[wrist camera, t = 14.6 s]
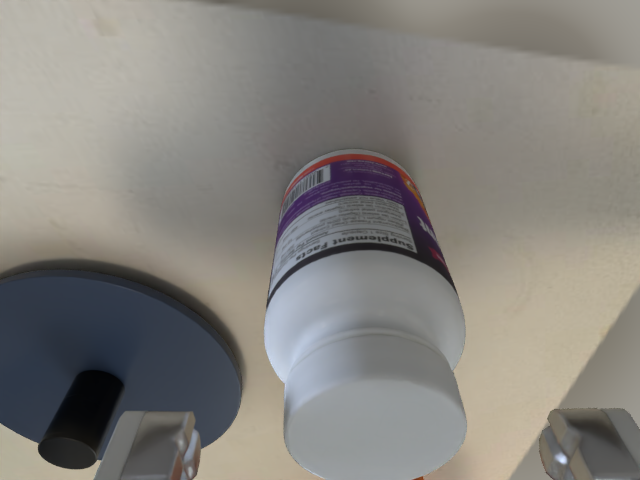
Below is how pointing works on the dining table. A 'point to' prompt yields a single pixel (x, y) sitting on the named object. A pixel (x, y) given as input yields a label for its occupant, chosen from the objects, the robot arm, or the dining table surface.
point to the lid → (105, 362)
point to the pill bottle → (364, 323)
